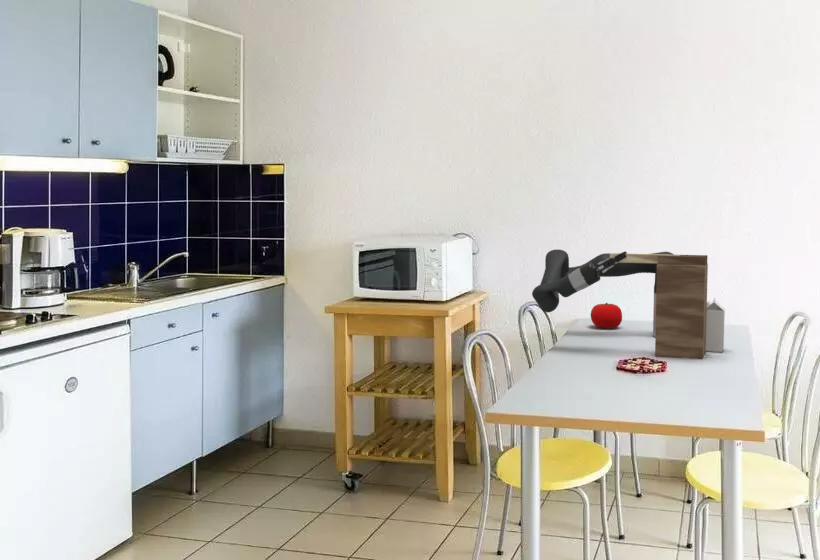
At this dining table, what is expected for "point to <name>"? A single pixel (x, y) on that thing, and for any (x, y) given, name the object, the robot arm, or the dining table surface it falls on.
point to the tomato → (606, 315)
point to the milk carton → (715, 327)
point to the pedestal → (681, 306)
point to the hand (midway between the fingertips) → (626, 254)
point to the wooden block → (640, 258)
